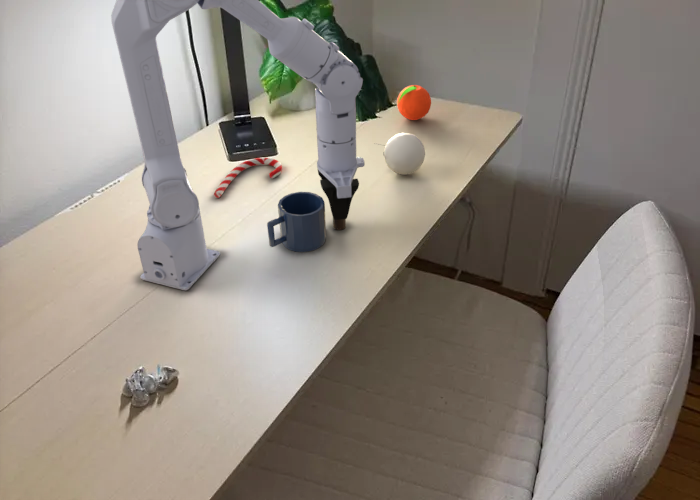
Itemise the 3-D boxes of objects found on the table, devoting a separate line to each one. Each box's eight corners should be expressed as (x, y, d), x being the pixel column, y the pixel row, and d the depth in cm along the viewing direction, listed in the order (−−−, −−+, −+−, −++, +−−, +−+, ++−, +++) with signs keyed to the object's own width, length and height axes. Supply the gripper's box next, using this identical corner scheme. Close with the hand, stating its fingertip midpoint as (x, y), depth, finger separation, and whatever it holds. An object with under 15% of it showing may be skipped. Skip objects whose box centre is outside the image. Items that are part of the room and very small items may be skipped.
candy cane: (200, 187, 116) (255, 152, 126) (201, 193, 117) (256, 158, 127) (235, 199, 113) (289, 162, 123) (236, 206, 113) (289, 168, 123)
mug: (308, 221, 109) (306, 186, 105) (334, 240, 105) (333, 204, 101) (258, 243, 104) (254, 208, 101) (283, 264, 100) (280, 228, 96)
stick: (343, 231, 107) (341, 192, 102) (331, 228, 107) (329, 190, 103) (347, 224, 108) (346, 186, 104) (336, 222, 109) (334, 184, 105)
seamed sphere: (433, 171, 122) (435, 134, 117) (405, 186, 118) (406, 148, 113) (392, 153, 128) (393, 117, 123) (364, 167, 123) (364, 130, 119)
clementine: (409, 130, 135) (410, 96, 131) (385, 119, 140) (386, 86, 135) (437, 118, 139) (439, 85, 135) (413, 108, 144) (414, 76, 140)
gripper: (372, 156, 93) (372, 237, 101) (355, 112, 105) (356, 188, 112) (321, 160, 92) (325, 242, 100) (310, 116, 104) (314, 192, 112)
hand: (339, 214), depth 106 cm, fingers closed on stick, 2 cm apart
